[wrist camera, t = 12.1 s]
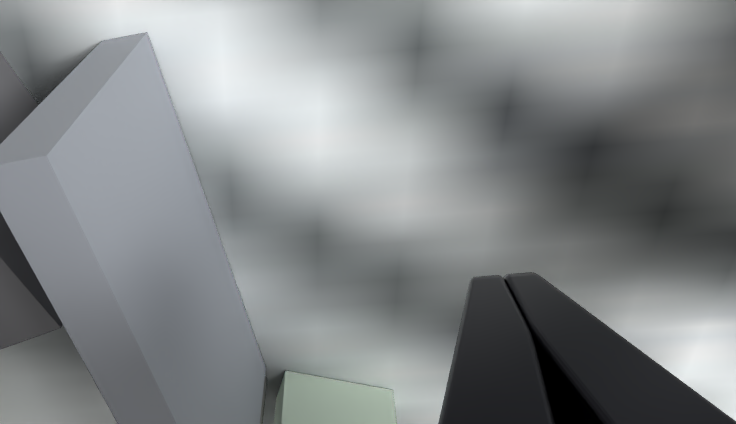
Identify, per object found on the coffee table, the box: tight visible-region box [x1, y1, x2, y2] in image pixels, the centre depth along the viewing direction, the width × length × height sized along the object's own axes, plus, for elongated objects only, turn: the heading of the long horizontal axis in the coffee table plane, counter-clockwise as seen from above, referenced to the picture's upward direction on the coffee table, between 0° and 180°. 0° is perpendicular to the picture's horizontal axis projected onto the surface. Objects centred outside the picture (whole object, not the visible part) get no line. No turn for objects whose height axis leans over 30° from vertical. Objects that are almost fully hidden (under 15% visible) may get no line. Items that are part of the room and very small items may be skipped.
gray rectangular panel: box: [0, 32, 267, 424], centre depth 17 cm, size 13×1×8 cm, turn 10°
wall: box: [274, 371, 397, 424], centre depth 20 cm, size 22×2×6 cm, turn 73°
